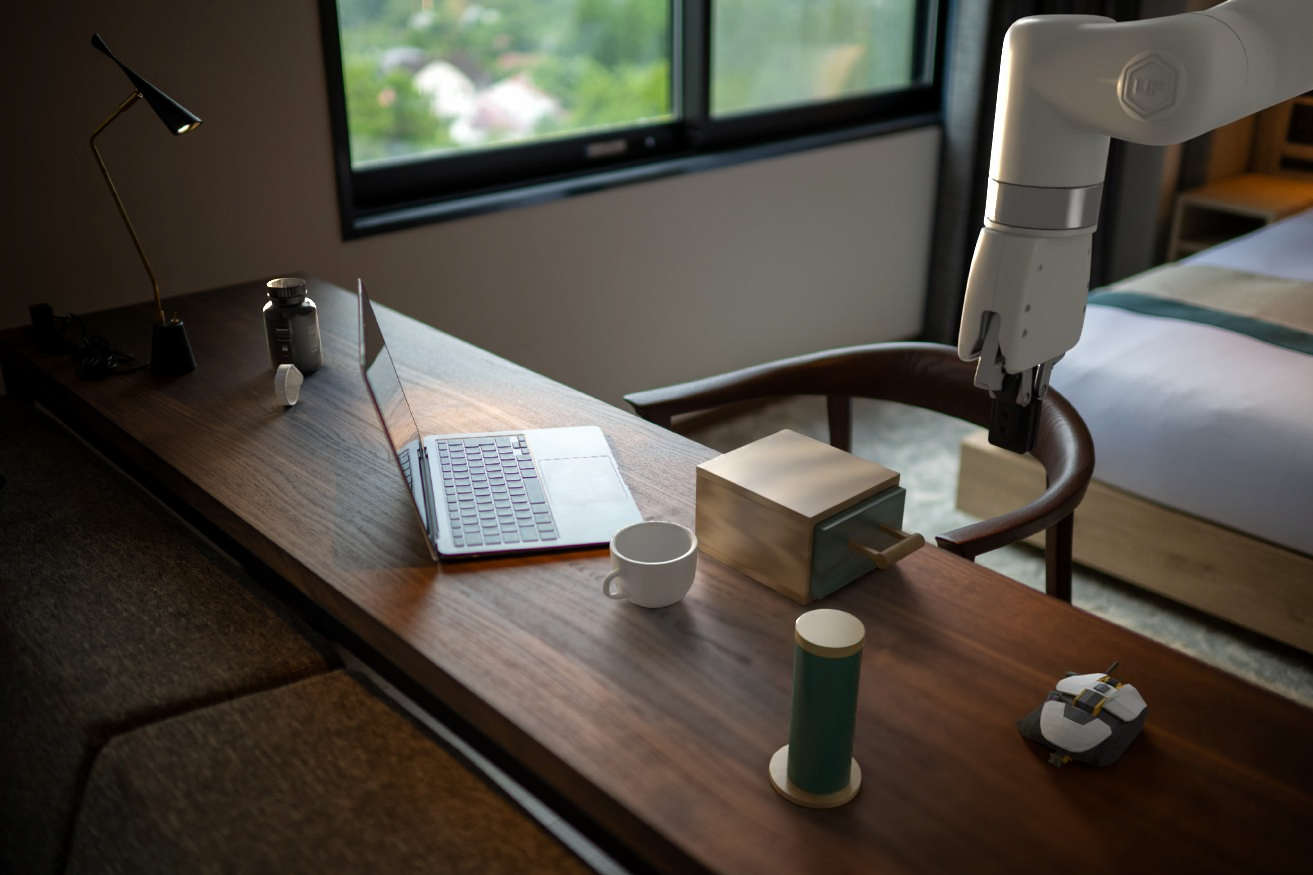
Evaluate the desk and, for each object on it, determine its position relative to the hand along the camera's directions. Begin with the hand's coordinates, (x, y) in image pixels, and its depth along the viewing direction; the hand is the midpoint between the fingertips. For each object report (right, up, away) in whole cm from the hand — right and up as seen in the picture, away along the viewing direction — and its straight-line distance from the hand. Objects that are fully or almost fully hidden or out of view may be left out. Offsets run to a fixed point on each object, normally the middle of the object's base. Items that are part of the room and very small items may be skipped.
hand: (1011, 446), depth 84 cm
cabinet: (-14, -10, +22) cm, 28 cm away
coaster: (-16, -23, -7) cm, 29 cm away
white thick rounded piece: (-73, +5, +55) cm, 92 cm away
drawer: (-11, -11, +18) cm, 24 cm away
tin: (-16, -23, -7) cm, 29 cm away
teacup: (-28, -14, +14) cm, 34 cm away
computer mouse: (+5, -21, -1) cm, 22 cm away
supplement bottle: (-76, +10, +66) cm, 102 cm away
